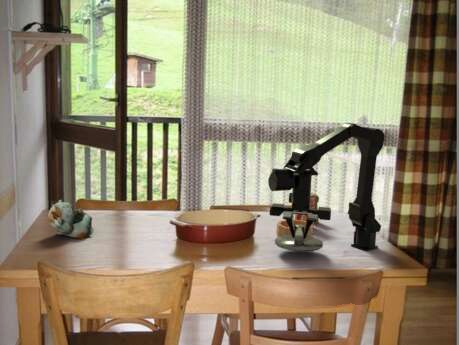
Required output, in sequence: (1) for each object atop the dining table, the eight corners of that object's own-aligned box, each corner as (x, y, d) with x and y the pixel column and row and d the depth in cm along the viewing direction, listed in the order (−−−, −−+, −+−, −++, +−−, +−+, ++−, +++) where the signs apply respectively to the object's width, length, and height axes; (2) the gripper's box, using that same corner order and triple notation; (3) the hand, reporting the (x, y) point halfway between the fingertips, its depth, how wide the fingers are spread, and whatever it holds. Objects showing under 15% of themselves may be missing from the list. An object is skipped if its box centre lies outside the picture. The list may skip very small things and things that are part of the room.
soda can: (312, 225, 201) (314, 192, 198) (313, 230, 194) (316, 196, 191) (294, 224, 201) (295, 191, 199) (294, 229, 194) (296, 195, 192)
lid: (332, 246, 165) (334, 228, 164) (298, 254, 156) (299, 235, 155) (298, 234, 176) (299, 217, 175) (265, 241, 167) (265, 223, 166)
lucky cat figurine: (93, 239, 175) (73, 206, 168) (59, 252, 175) (38, 220, 168) (95, 215, 188) (77, 184, 181) (64, 228, 188) (45, 197, 181)
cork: (318, 224, 202) (320, 196, 200) (302, 223, 203) (304, 195, 201) (319, 220, 208) (320, 193, 206) (303, 219, 209) (305, 192, 207)
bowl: (318, 239, 182) (319, 225, 182) (293, 245, 175) (294, 230, 174) (294, 231, 192) (294, 218, 191) (269, 236, 184) (270, 222, 184)
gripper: (332, 186, 169) (329, 233, 172) (274, 182, 173) (272, 228, 175) (332, 193, 158) (328, 243, 161) (270, 189, 162) (268, 238, 165)
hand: (299, 238), depth 166 cm, fingers closed on lid, 3 cm apart
